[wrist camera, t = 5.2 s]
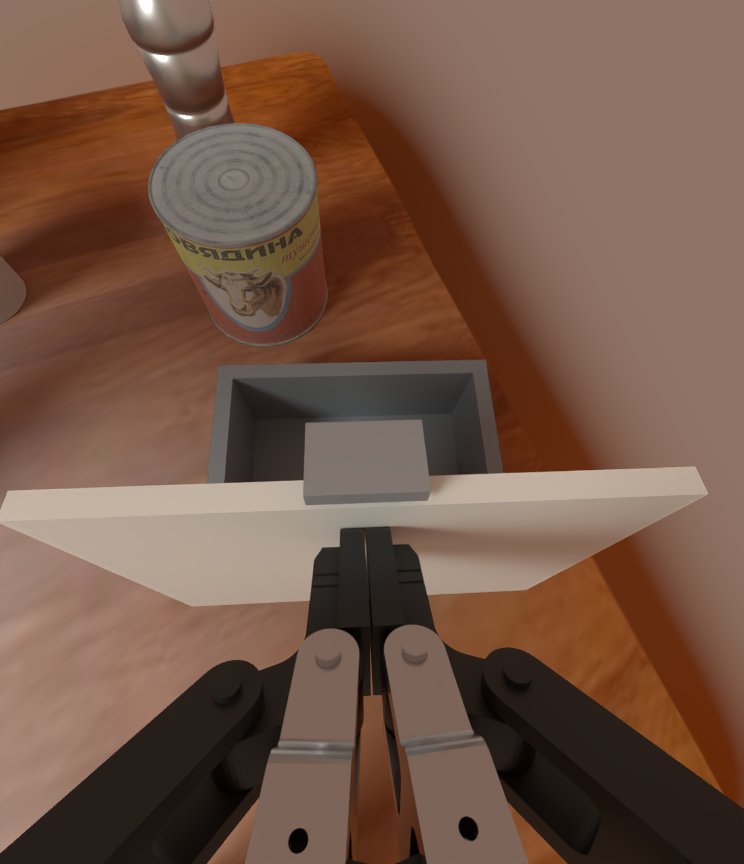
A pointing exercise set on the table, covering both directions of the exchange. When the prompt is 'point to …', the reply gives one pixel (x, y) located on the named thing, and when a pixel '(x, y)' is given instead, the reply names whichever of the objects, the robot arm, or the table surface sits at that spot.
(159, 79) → the plastic bottle
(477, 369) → the storage box
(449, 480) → the lid
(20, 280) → the coffee cup
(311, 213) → the canned food
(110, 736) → the table surface
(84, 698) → the table surface
